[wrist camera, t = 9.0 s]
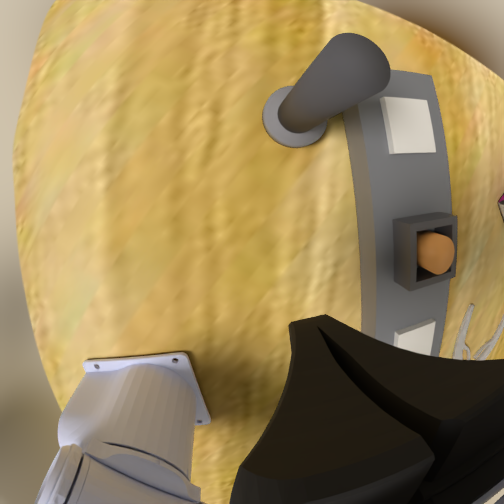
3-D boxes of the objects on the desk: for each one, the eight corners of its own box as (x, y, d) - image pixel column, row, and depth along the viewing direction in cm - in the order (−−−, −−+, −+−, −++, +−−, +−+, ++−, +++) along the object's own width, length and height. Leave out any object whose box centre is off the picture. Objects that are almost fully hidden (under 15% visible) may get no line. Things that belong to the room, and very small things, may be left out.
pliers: (516, 307, 22) (469, 407, 25) (508, 302, 24) (463, 401, 27) (475, 308, 21) (420, 423, 24) (466, 302, 22) (415, 415, 26)
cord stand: (267, 151, 17) (314, 119, 8) (257, 93, 16) (289, 12, 7) (327, 144, 18) (419, 119, 8) (316, 88, 17) (392, 22, 7)
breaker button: (406, 267, 17) (427, 278, 15) (406, 231, 17) (428, 239, 14) (432, 260, 17) (453, 270, 15) (432, 226, 17) (454, 233, 14)
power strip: (359, 376, 22) (380, 409, 18) (334, 78, 16) (362, 55, 12) (422, 353, 23) (447, 379, 18) (413, 83, 17) (448, 69, 12)
